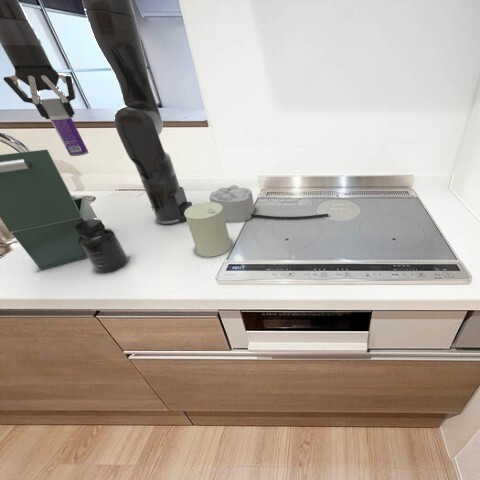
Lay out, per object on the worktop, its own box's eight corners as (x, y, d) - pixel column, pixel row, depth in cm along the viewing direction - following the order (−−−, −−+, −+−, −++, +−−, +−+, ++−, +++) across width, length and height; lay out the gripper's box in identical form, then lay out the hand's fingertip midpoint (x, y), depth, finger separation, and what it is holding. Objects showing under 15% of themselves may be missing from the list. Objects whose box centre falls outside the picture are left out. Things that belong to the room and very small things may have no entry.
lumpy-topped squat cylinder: (249, 221, 84) (244, 196, 79) (208, 221, 84) (202, 196, 79) (256, 206, 92) (252, 183, 87) (219, 206, 92) (214, 183, 88)
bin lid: (-37, 159, 52) (-51, 160, 48) (47, 149, 57) (40, 149, 53) (10, 231, 58) (1, 237, 54) (81, 215, 64) (78, 220, 60)
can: (216, 260, 67) (205, 219, 61) (188, 252, 70) (174, 213, 63) (237, 241, 75) (229, 203, 68) (211, 235, 77) (201, 197, 70)
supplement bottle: (108, 255, 69) (85, 215, 62) (134, 256, 69) (113, 216, 62) (88, 273, 63) (61, 231, 56) (116, 273, 63) (92, 231, 56)
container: (92, 151, 83) (65, 98, 74) (79, 156, 79) (50, 100, 70) (79, 151, 83) (51, 98, 75) (65, 156, 79) (34, 100, 71)
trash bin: (49, 242, 74) (25, 208, 68) (103, 228, 80) (85, 196, 74) (40, 270, 64) (11, 233, 58) (103, 252, 70) (82, 217, 64)
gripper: (-25, 42, 60) (24, 122, 69) (56, 43, 66) (90, 117, 76) (-14, 44, 65) (30, 118, 74) (60, 45, 71) (91, 113, 81)
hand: (60, 117), depth 75 cm, fingers closed on container, 4 cm apart
